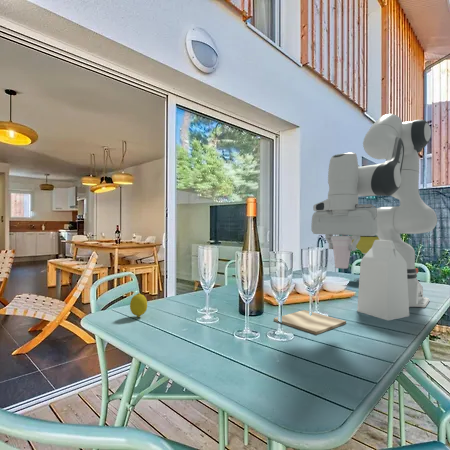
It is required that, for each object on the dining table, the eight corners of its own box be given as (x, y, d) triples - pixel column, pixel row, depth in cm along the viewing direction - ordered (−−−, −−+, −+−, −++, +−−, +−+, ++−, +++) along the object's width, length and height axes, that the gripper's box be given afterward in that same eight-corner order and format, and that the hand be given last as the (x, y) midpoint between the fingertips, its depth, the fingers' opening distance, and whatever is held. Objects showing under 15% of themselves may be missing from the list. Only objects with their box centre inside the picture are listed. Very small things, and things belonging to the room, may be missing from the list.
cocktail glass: (376, 284, 161) (376, 237, 161) (342, 280, 174) (342, 236, 174) (386, 280, 175) (387, 236, 174) (354, 276, 187) (354, 235, 187)
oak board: (304, 312, 110) (304, 309, 110) (346, 323, 97) (346, 321, 97) (273, 320, 100) (273, 318, 100) (316, 334, 87) (316, 331, 87)
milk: (357, 311, 112) (357, 239, 112) (378, 307, 117) (378, 239, 117) (387, 320, 101) (388, 241, 101) (409, 316, 106) (410, 240, 106)
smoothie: (339, 269, 91) (340, 221, 91) (326, 266, 97) (327, 222, 97) (357, 268, 93) (358, 222, 93) (343, 266, 99) (344, 222, 99)
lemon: (142, 320, 99) (142, 295, 99) (126, 319, 100) (126, 294, 100) (150, 315, 104) (150, 291, 104) (135, 314, 105) (135, 290, 105)
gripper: (381, 204, 89) (381, 251, 89) (319, 206, 105) (319, 247, 105) (371, 202, 85) (371, 252, 85) (308, 205, 101) (308, 248, 101)
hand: (342, 249), depth 95 cm, fingers closed on smoothie, 5 cm apart
